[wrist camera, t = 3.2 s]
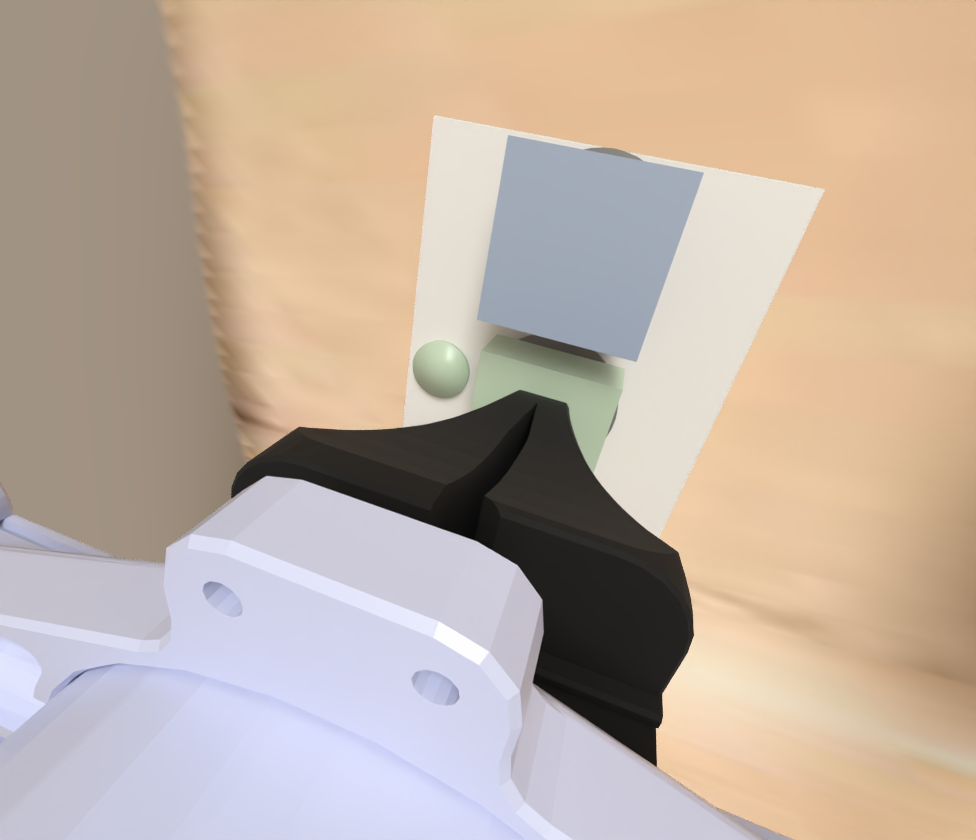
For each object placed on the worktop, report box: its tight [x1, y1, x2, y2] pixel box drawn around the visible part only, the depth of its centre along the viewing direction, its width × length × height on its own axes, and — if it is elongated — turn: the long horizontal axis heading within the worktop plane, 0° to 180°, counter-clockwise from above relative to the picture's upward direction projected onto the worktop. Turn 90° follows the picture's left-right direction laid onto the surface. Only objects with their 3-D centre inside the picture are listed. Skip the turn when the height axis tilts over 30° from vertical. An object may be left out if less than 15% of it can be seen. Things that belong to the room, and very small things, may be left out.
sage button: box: [470, 334, 625, 473], centre depth 13 cm, size 4×4×2 cm
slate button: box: [477, 135, 704, 362], centre depth 10 cm, size 4×4×2 cm
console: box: [403, 115, 825, 538], centre depth 15 cm, size 13×9×2 cm
